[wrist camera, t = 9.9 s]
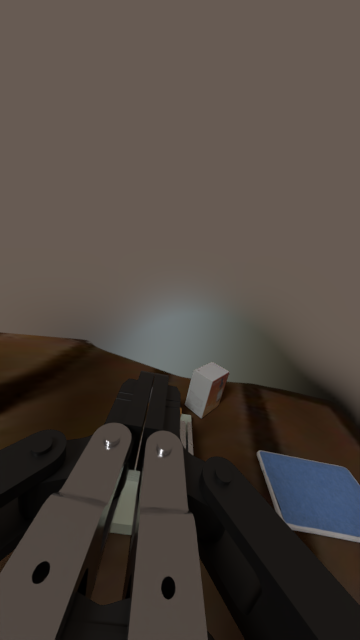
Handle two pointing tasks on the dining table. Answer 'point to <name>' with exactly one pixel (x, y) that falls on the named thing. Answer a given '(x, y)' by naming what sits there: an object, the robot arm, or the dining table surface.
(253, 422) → the dining table surface
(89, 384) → the dining table surface
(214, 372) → the small box
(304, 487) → the tablet computer
